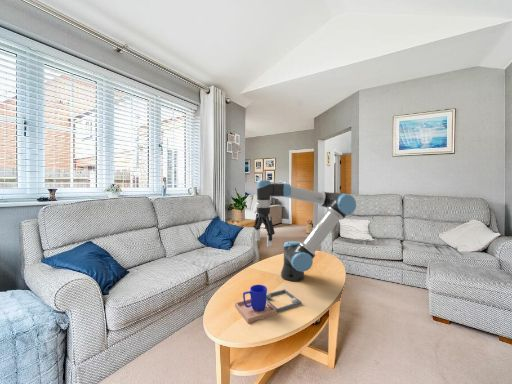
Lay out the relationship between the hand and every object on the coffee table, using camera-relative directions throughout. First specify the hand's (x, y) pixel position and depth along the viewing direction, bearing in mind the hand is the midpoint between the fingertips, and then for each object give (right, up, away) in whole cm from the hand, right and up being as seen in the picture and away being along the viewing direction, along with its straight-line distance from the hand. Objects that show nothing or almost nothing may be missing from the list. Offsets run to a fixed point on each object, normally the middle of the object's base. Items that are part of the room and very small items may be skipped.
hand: (263, 243), depth 134 cm
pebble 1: (+2, -27, -11) cm, 29 cm away
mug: (-5, -28, -21) cm, 35 cm away
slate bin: (+9, -28, -13) cm, 32 cm away
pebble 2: (+16, -28, -15) cm, 35 cm away
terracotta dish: (-5, -28, -21) cm, 36 cm away
